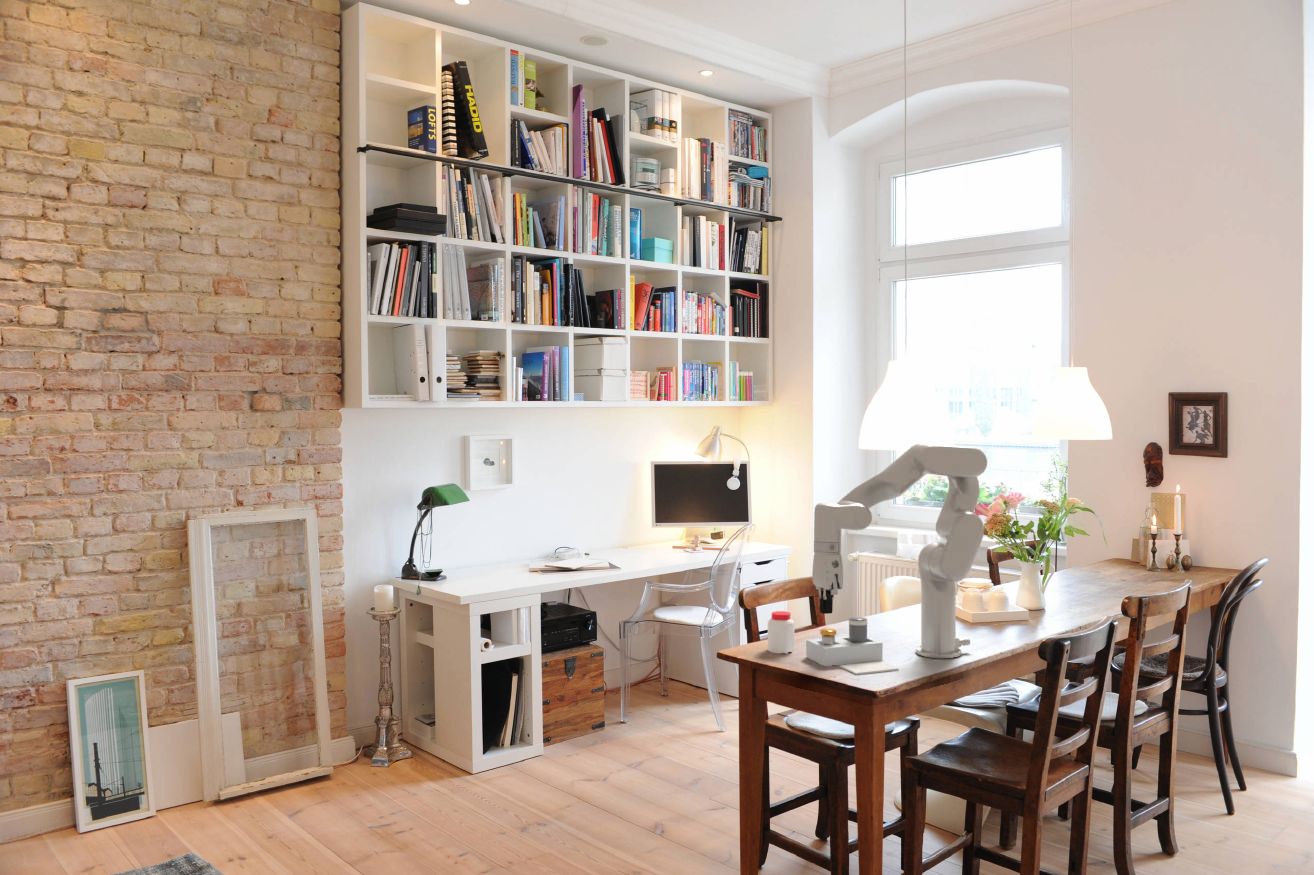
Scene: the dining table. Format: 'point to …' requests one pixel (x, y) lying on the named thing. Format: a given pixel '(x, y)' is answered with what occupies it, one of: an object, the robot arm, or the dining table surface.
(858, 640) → the cylinder
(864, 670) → the mat
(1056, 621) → the dining table surface
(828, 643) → the plunger
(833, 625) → the dining table surface
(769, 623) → the pill bottle
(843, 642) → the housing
